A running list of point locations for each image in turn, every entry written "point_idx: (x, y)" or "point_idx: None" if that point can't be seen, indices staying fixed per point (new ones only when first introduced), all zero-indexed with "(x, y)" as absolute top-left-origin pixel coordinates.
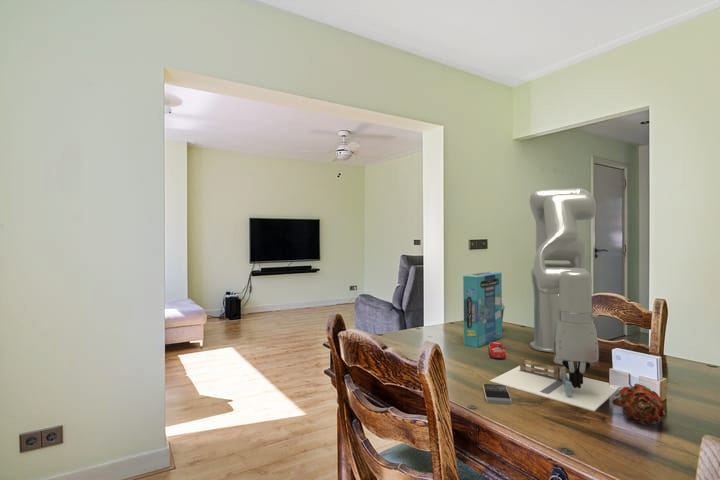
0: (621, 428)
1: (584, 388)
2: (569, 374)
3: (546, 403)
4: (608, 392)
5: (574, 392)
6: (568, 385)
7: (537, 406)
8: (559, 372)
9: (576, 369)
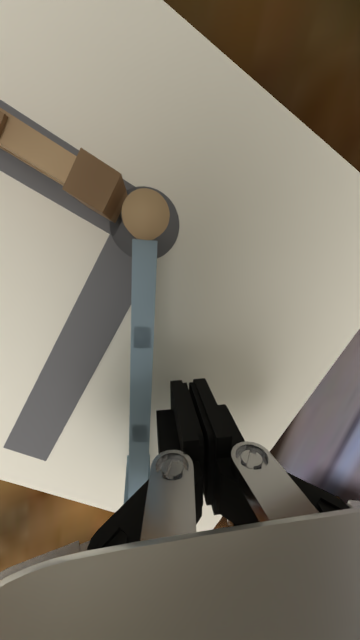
0: None
1: (235, 329)
2: (159, 453)
3: (40, 532)
4: (327, 349)
5: None
6: None
7: (4, 567)
8: (122, 193)
9: (218, 471)
